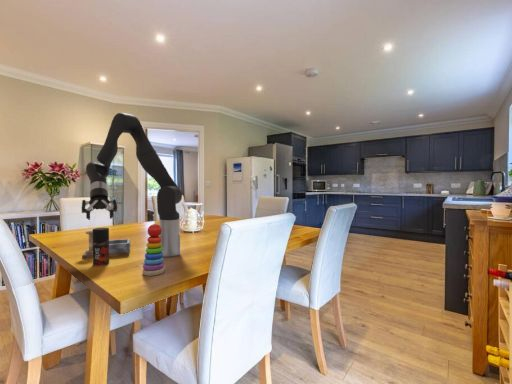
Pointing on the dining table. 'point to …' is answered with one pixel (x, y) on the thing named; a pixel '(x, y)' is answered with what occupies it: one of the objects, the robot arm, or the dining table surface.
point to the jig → (114, 247)
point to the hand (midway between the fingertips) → (100, 218)
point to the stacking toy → (153, 252)
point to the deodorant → (100, 246)
